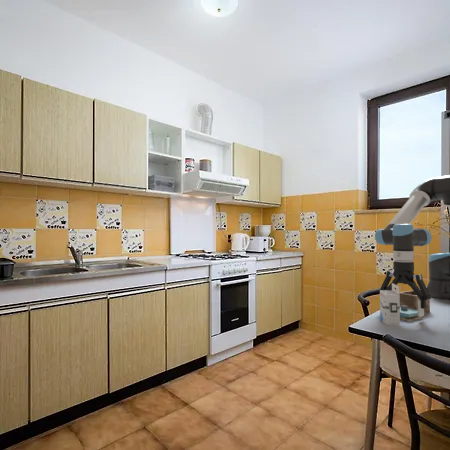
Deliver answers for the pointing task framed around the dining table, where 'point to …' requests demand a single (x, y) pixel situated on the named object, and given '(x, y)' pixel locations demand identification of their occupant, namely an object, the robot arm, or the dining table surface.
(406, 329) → the dining table surface
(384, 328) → the dining table surface
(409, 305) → the box
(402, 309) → the lid
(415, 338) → the dining table surface
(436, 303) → the dining table surface
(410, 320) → the trivet
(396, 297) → the ink box
